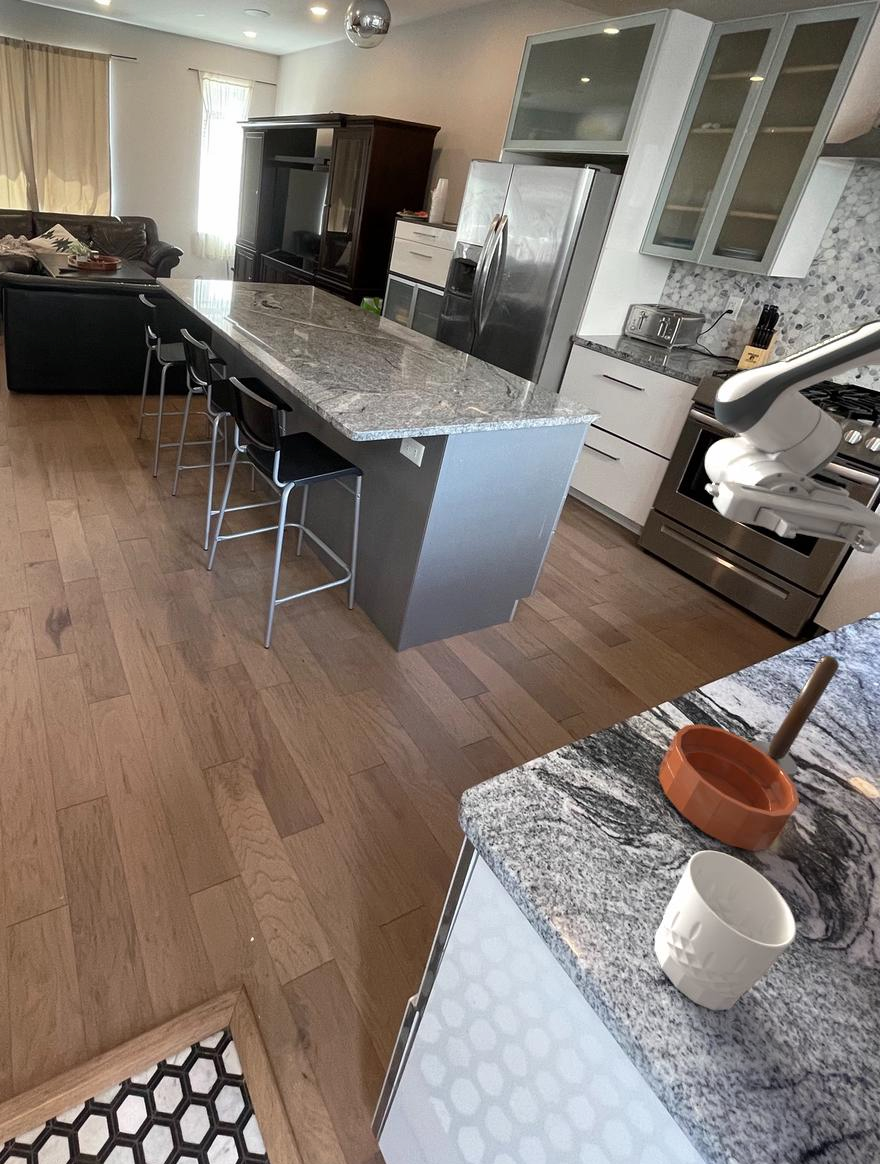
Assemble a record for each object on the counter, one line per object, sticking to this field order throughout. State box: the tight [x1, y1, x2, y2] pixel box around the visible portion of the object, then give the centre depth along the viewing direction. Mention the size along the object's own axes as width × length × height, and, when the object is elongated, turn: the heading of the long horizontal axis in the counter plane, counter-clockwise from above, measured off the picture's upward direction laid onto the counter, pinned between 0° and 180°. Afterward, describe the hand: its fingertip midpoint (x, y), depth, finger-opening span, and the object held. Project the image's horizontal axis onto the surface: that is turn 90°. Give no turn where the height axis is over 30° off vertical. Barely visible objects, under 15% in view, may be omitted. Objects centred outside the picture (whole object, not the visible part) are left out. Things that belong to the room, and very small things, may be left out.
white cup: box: [654, 850, 797, 1011], centre depth 54 cm, size 8×8×10 cm
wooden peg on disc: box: [750, 655, 840, 781], centre depth 77 cm, size 5×5×18 cm
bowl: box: [658, 723, 800, 852], centre depth 72 cm, size 12×12×6 cm
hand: (829, 540), depth 80 cm, fingers open, 8 cm apart
